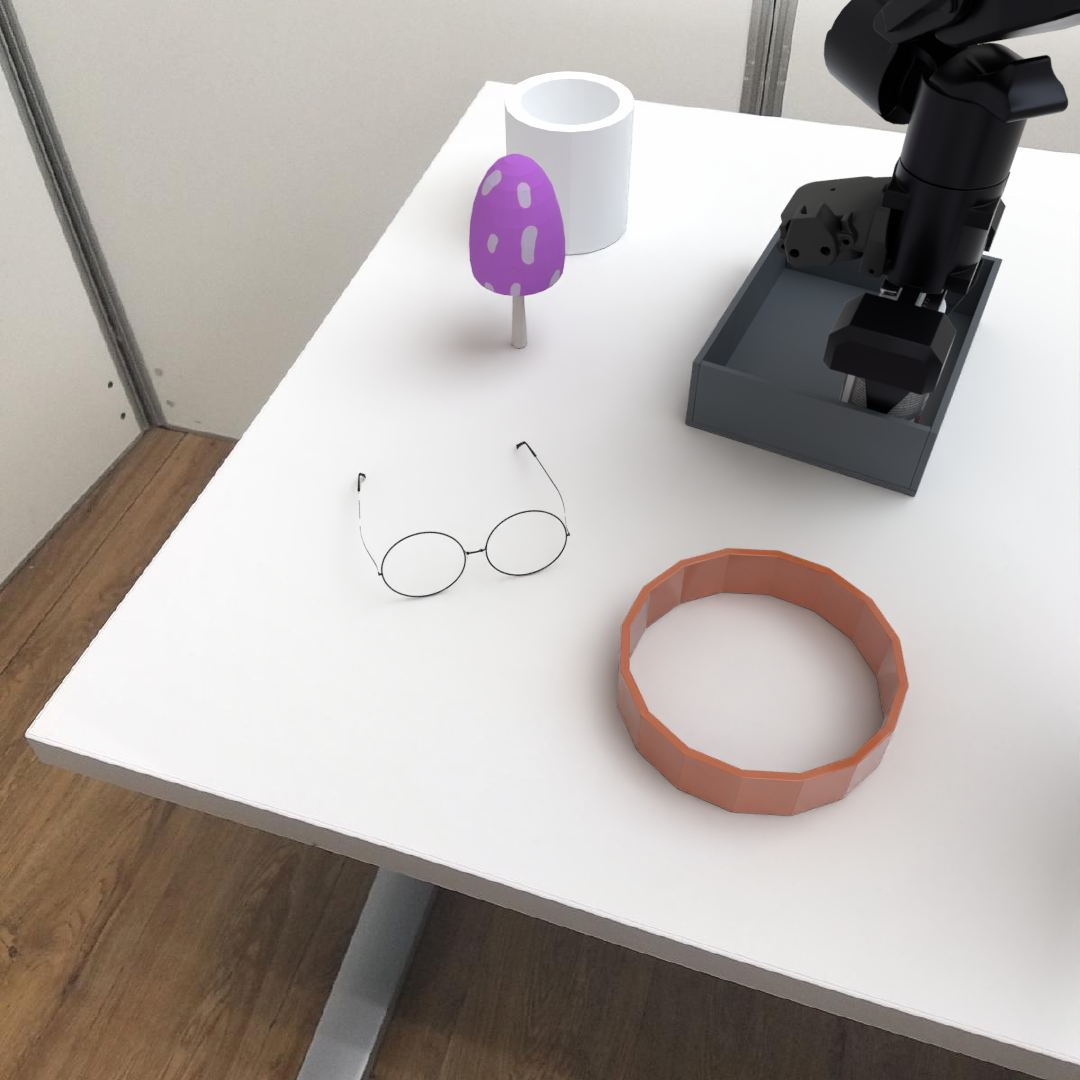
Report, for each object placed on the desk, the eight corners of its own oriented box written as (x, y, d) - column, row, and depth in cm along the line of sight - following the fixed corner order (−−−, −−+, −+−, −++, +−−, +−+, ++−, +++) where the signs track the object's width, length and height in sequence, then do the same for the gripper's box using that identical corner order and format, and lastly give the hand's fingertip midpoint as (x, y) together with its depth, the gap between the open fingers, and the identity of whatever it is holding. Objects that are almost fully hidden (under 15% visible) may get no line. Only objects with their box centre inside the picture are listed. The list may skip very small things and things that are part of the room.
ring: (919, 641, 61) (935, 603, 59) (847, 861, 53) (862, 829, 50) (676, 555, 66) (682, 516, 63) (573, 744, 57) (573, 708, 54)
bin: (980, 320, 82) (1003, 258, 78) (914, 497, 69) (937, 434, 65) (779, 268, 86) (791, 207, 82) (684, 424, 74) (692, 361, 70)
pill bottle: (931, 441, 70) (975, 319, 63) (856, 455, 69) (891, 333, 62) (894, 390, 74) (931, 269, 66) (822, 403, 73) (851, 281, 65)
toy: (463, 362, 79) (448, 175, 68) (491, 310, 83) (482, 126, 72) (549, 378, 77) (549, 191, 66) (574, 325, 82) (578, 140, 71)
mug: (541, 164, 98) (540, 47, 90) (649, 181, 96) (658, 63, 88) (492, 243, 89) (486, 121, 81) (609, 263, 87) (615, 140, 79)
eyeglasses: (348, 479, 71) (337, 422, 67) (532, 444, 73) (530, 387, 69) (376, 607, 63) (365, 552, 60) (578, 564, 66) (580, 508, 62)
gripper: (854, 66, 66) (809, 281, 77) (755, 212, 55) (720, 437, 66) (1042, 102, 62) (965, 321, 74) (976, 266, 51) (898, 494, 63)
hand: (887, 387), depth 69 cm, fingers closed on pill bottle, 5 cm apart
